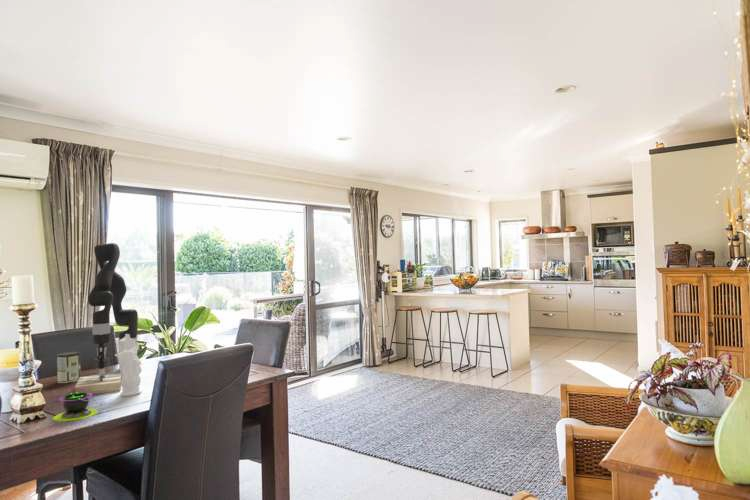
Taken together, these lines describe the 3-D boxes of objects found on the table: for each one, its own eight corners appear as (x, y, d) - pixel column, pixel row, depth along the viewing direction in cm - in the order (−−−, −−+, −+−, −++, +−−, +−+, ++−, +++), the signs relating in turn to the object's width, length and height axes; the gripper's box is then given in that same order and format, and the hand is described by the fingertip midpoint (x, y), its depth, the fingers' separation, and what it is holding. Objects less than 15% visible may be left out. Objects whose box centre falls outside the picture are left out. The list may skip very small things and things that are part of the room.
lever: (95, 377, 232) (94, 358, 233) (109, 375, 235) (109, 357, 235) (93, 381, 224) (93, 362, 224) (108, 379, 227) (108, 360, 227)
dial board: (79, 385, 236) (79, 376, 236) (121, 380, 244) (121, 371, 244) (74, 396, 215) (74, 387, 215) (120, 390, 223) (120, 381, 223)
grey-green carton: (67, 378, 252) (66, 351, 253) (85, 378, 251) (85, 351, 252) (52, 383, 242) (51, 355, 243) (71, 383, 241) (70, 354, 242)
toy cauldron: (104, 413, 188) (103, 385, 188) (60, 424, 177) (59, 394, 177) (90, 407, 198) (90, 380, 198) (47, 416, 187) (47, 388, 187)
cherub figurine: (130, 397, 210) (129, 347, 210) (106, 397, 213) (104, 347, 213) (149, 390, 222) (147, 342, 222) (125, 389, 225) (124, 342, 225)
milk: (124, 378, 249) (123, 335, 249) (119, 376, 253) (118, 334, 253) (136, 375, 253) (135, 333, 253) (132, 374, 257) (131, 332, 258)
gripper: (93, 331, 238) (94, 365, 238) (91, 335, 225) (91, 371, 225) (110, 330, 241) (111, 363, 241) (109, 333, 229) (110, 368, 228)
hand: (102, 367), depth 233 cm, fingers open, 7 cm apart
